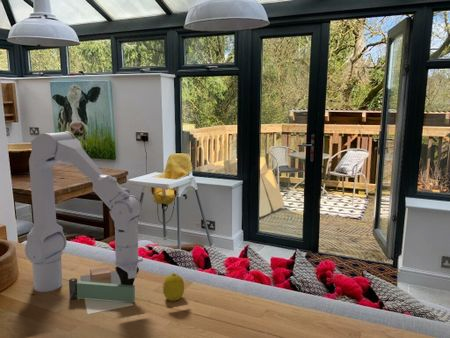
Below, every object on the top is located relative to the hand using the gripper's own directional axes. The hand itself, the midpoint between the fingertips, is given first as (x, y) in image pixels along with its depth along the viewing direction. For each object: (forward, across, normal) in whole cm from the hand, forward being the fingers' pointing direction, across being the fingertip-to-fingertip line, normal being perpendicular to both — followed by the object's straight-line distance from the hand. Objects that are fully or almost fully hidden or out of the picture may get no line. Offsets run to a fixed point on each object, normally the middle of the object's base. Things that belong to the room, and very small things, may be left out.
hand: (127, 292), depth 99 cm
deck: (+2, +7, +5) cm, 9 cm away
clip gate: (+1, +1, +5) cm, 5 cm away
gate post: (+2, +5, +13) cm, 14 cm away
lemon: (+2, -5, -11) cm, 12 cm away
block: (+1, +11, +5) cm, 12 cm away
